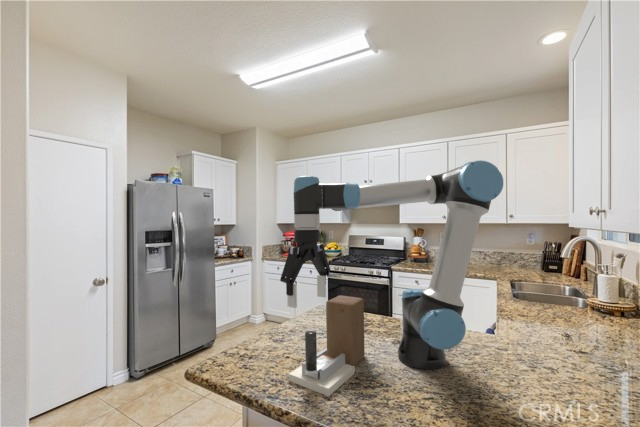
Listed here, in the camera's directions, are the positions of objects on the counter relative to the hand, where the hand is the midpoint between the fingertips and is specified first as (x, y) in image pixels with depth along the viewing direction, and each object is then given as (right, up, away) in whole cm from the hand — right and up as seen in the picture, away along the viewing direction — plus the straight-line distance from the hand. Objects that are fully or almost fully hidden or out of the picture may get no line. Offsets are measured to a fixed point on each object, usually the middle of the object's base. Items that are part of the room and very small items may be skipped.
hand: (307, 301), depth 87 cm
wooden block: (+12, -23, +13) cm, 30 cm away
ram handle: (+3, -21, 0) cm, 21 cm away
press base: (+4, -23, +2) cm, 23 cm away
